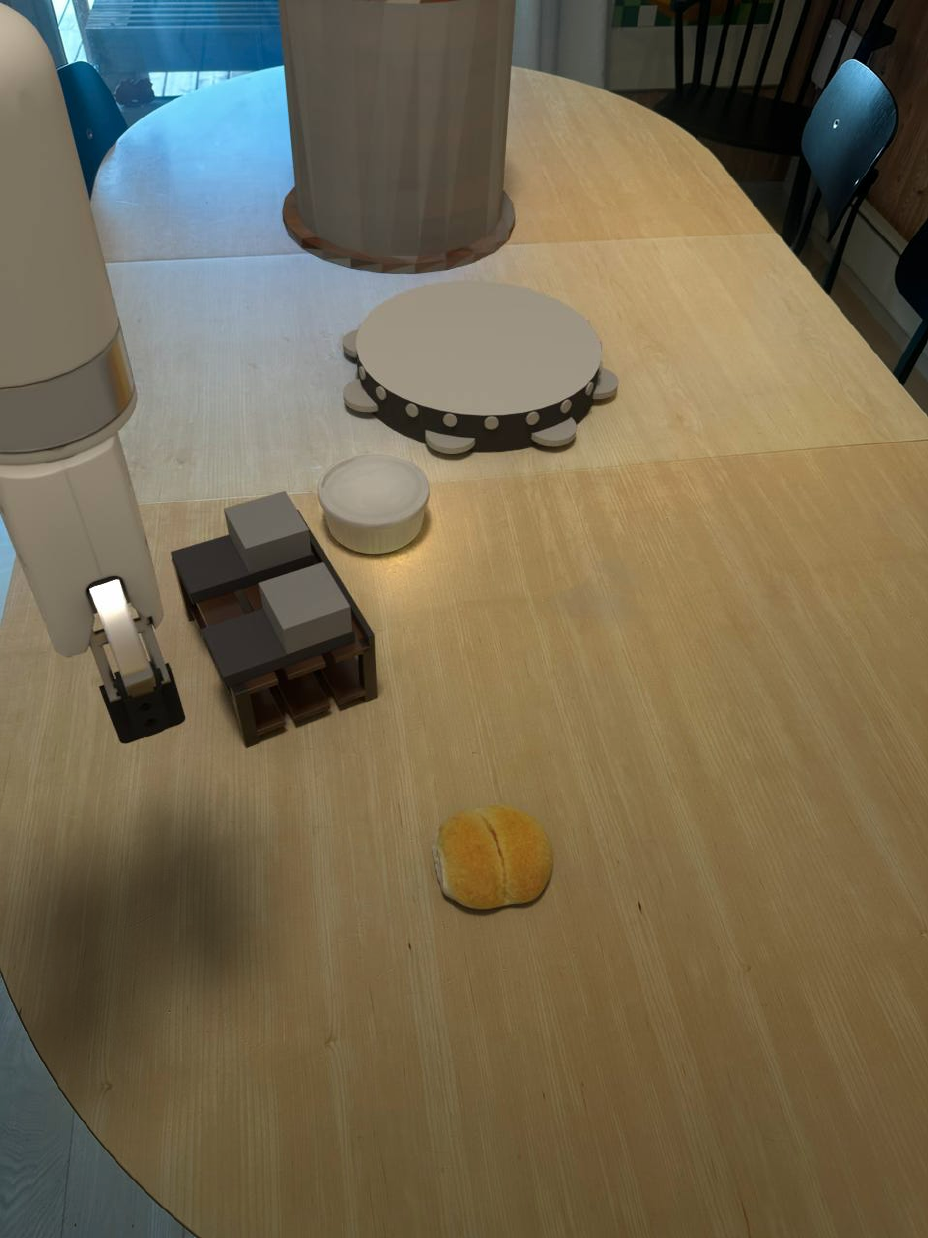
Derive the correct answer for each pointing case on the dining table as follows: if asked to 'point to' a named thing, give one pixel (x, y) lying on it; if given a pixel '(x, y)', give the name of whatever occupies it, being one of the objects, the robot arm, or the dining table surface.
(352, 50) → the storage basket
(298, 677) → the rack
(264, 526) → the grey block
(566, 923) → the dining table surface
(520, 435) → the tambourine
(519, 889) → the bread roll
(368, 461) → the ramekin
